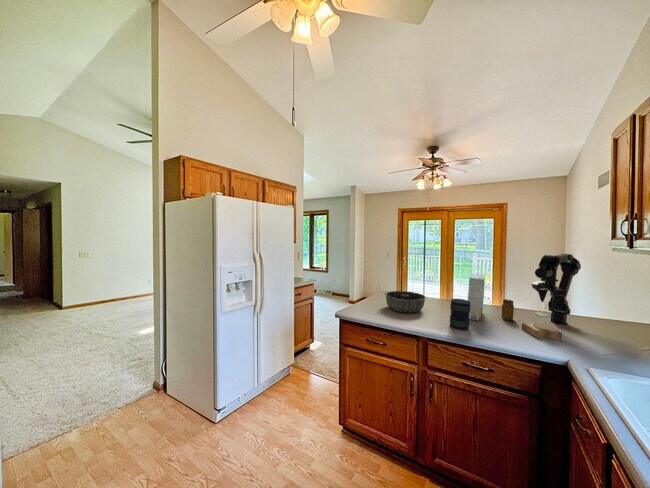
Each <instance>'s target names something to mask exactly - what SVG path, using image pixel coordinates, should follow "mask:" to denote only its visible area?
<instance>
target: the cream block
mask: <svg viewBox="0 0 650 488" xmlns="http://www.w3.org/2000/svg"><path fill="white" fill-rule="evenodd" d="M532 321H533V322H532V323H533V326H535V327H537V328H539V329H550V327H551V322H552V321H551V314H547V313H545V312H533V320H532Z"/></svg>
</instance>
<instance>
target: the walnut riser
mask: <svg viewBox="0 0 650 488" xmlns="http://www.w3.org/2000/svg"><path fill="white" fill-rule="evenodd" d="M521 330H523V331H524V332H526V333H527V334H529V335H530V336H532V337H533V338H535V339H546V340H547V339H548V340H561V341H562V339H563V332H562V331H560V330H557V329H555V327H552V326H550V329H539V328H537V327H535V326H533V322H521Z"/></svg>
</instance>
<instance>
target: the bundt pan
mask: <svg viewBox="0 0 650 488" xmlns="http://www.w3.org/2000/svg"><path fill="white" fill-rule="evenodd" d="M384 295H385V300H386V304H387V306H388V307H389V308H390V309H391V310H393V311H395V312H400V313H409V314H410V313H418V312H420V311H422V309H423V308H424V306H425V301H426V298H427V296H425V295H424V294H422V293H419V292H414V291H406V290H405V291H404V290H393V291H391V290H390V291H387V292H386V293H384Z"/></svg>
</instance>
